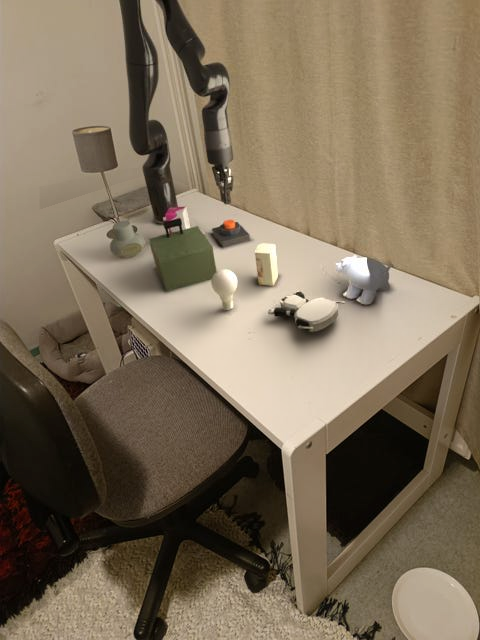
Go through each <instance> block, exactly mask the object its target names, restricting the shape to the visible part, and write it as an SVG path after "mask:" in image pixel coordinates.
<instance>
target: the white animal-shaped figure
mask: <svg viewBox="0 0 480 640" xmlns="http://www.w3.org/2000/svg"><path fill="white" fill-rule="evenodd" d="M392 267H394V264H393V263H392V264H390V265H388V266H386V265H385V264H384V263H383V262H381V261H380V260H377V259H375V258H372V257H371V258H370V257H358V258H357V255H355V254H354V255H353V256H351V257H350V256H347V257H344V259H341V261H340V262H339V263H338V262H336V263H335V266H334V268H335V269H336V270H335V272H336V273H337V274H344V275H346V277H347V280H348V281H349V285H348V287H347V290H346V291H345V292H343V294H342V296H343V297H345V298H347V299H351V300H353V299H354V300H355V299H356V300H355V301H356V302H358V303H360V304H362V305H364V306H365V305H366V306H367V305H371V304H372V303H373V302H374V300H375V296H376V293H377V291H381V292H385V291H389V290H390V288H391V284H390V283H389V281H390V272H389V271H390V269H391V268H392ZM361 290H362V293H361ZM360 293H361V295H360Z"/></svg>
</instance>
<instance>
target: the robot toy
mask: <svg viewBox="0 0 480 640" xmlns="http://www.w3.org/2000/svg"><path fill="white" fill-rule="evenodd" d="M279 304H280V307H275V308H269V309H268V310H267V314H268V315H269V316H271V315H274V317H275V318H276V317H277V318H282V317H284V316H288V317H293V318H294V322H295V323H294V324H296V327H297V328H298V329H300V330H303V331H307V332H310V333H312V332H319V331H321V330H323V329H325V328H327V327H328V326H330V325H331V324H333V323H334V322H335V321H336V319H338V316H339V304H342V305H344V304H346V302H345V301H337V300H336V301H335V300H333V299H329V298H325V297H315V298H313V299H311V300H309V299H308V298H306V297H305V294H304V293H303V292H302V291H301V290H296V291H293V292H292V295H286V296H284V297H282V298H281V299H280V300H279Z"/></svg>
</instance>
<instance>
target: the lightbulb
mask: <svg viewBox="0 0 480 640" xmlns="http://www.w3.org/2000/svg"><path fill="white" fill-rule="evenodd" d="M216 271H217V272H216V273H215V274H214V275H213V277H212V279H210V280H211V282H210V283H211V288H212V290H213V291H214V293H215V294H216V295H218V297H219V299H220V301H221V304H222V309H224V310H227V311H229V310H232V309H233V308H234V301H233V300H234V294H235V292H236V290H237V287H238V277H237V276H236V274H235V273H234V271H231V270H229V269H226V268H224V269H223V268H222V269H219V270H216Z"/></svg>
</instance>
